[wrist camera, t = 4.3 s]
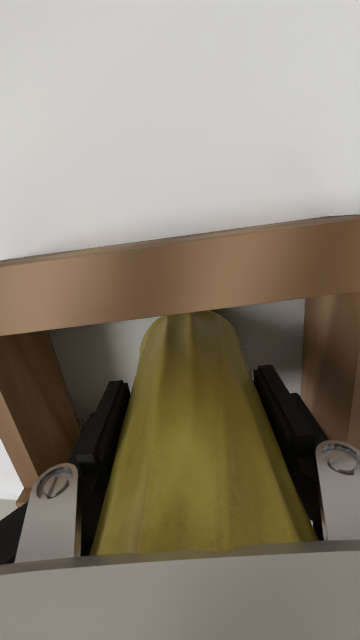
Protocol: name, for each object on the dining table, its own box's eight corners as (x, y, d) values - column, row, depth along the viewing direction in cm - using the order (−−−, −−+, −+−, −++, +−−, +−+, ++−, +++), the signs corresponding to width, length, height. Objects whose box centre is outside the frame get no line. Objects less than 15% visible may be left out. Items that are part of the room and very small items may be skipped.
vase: (204, 285, 14) (591, 1388, 1) (259, 364, 16) (673, 1122, 2) (120, 343, 15) (-282, 1115, 2) (180, 410, 17) (169, 1066, 4)
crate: (327, 216, 14) (425, 210, 8) (313, 421, 19) (369, 502, 13) (5, 259, 14) (-99, 280, 9) (72, 447, 19) (31, 534, 14)
